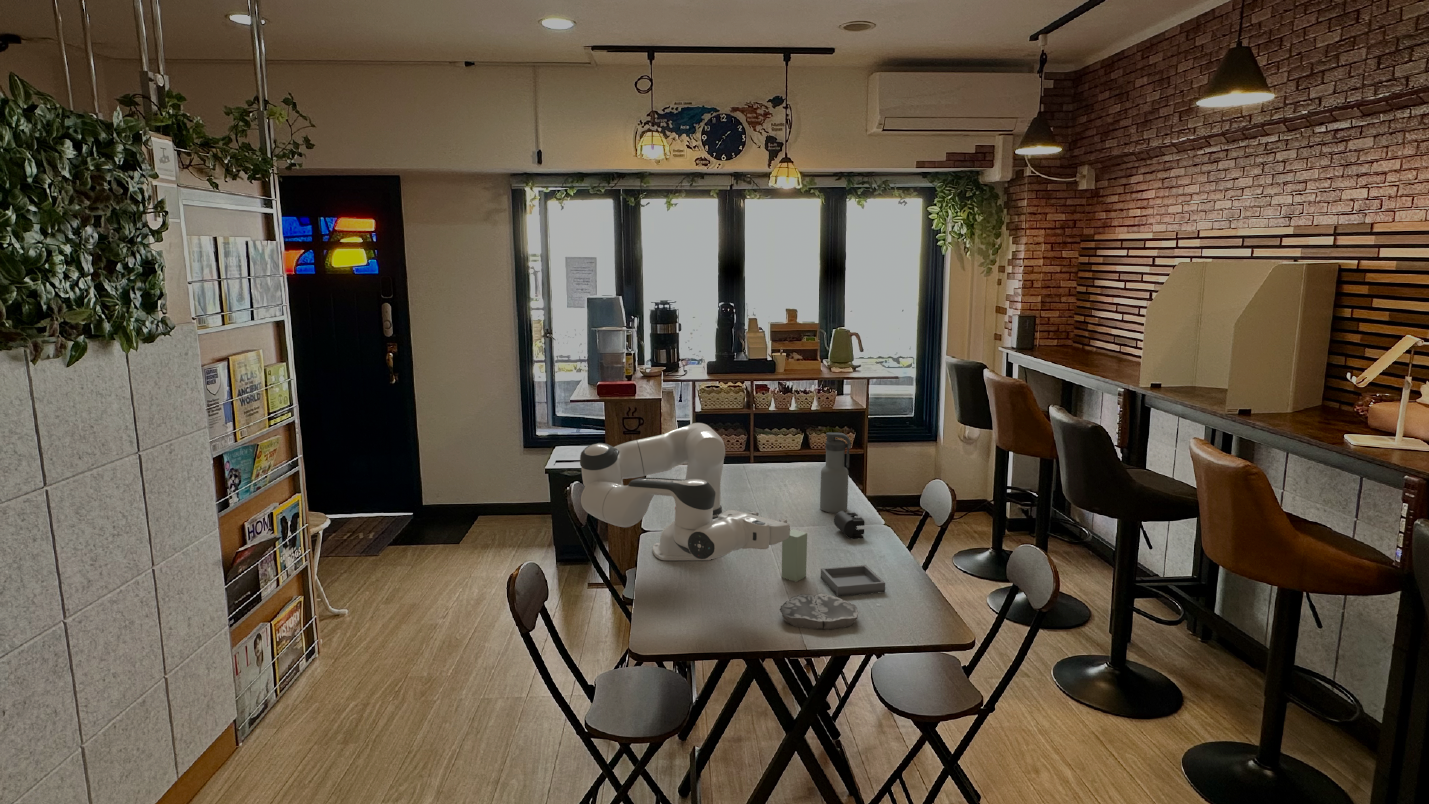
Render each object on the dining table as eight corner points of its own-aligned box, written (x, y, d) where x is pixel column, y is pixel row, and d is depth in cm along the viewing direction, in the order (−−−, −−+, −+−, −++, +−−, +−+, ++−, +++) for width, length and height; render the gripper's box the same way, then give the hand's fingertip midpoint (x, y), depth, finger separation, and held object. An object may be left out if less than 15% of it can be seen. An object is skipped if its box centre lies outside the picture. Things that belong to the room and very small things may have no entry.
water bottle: (847, 506, 308) (850, 431, 303) (849, 514, 299) (851, 436, 294) (819, 505, 309) (821, 430, 304) (820, 513, 300) (822, 436, 295)
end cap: (833, 530, 281) (833, 511, 280) (853, 529, 282) (853, 509, 281) (843, 540, 271) (844, 520, 270) (864, 539, 273) (865, 518, 272)
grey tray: (837, 596, 226) (837, 586, 226) (820, 577, 239) (820, 568, 239) (884, 592, 229) (885, 582, 229) (865, 574, 242) (865, 564, 242)
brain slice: (849, 604, 222) (849, 593, 222) (862, 632, 206) (863, 620, 205) (775, 604, 222) (775, 594, 221) (782, 633, 205) (782, 621, 204)
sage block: (796, 581, 237) (797, 537, 234) (781, 577, 240) (782, 533, 237) (806, 576, 240) (807, 532, 238) (791, 572, 243) (792, 529, 241)
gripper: (707, 533, 224) (739, 521, 234) (770, 551, 211) (801, 537, 221) (708, 510, 223) (740, 499, 233) (771, 527, 210) (802, 514, 220)
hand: (770, 518), depth 227 cm, fingers open, 8 cm apart
